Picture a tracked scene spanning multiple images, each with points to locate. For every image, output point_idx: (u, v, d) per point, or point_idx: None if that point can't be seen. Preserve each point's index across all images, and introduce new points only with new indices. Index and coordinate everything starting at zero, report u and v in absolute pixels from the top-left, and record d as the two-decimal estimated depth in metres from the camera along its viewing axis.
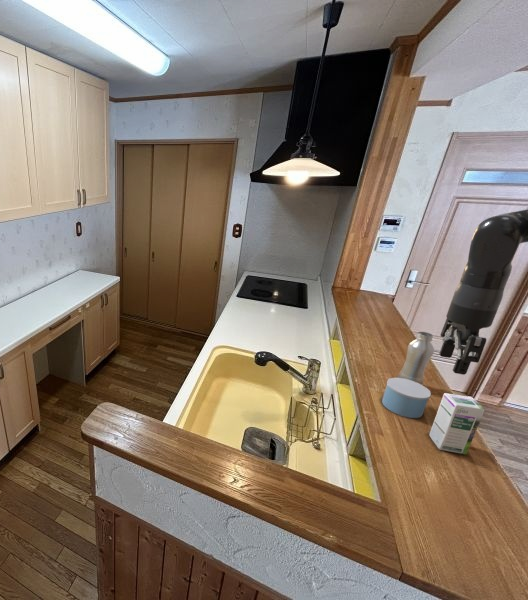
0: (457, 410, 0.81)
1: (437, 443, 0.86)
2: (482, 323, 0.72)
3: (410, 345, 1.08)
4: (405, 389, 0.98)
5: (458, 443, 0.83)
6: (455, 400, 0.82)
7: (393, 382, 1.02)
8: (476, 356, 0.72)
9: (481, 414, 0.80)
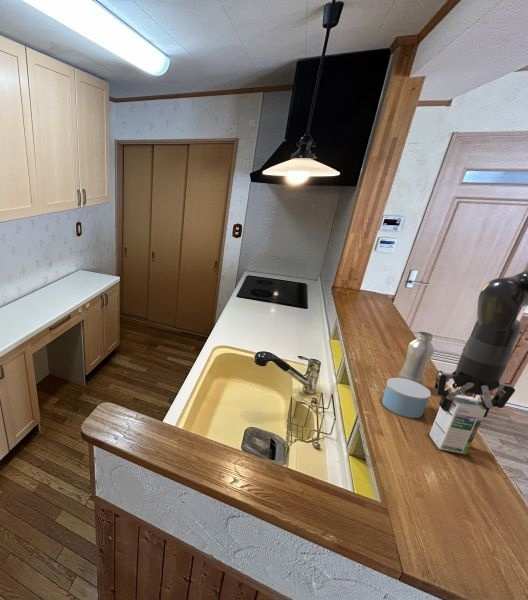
0: (459, 410, 0.81)
1: (437, 443, 0.86)
2: (461, 366, 0.80)
3: (410, 345, 1.08)
4: (405, 389, 0.98)
5: (458, 443, 0.83)
6: (456, 400, 0.82)
7: (393, 382, 1.02)
8: None
9: (482, 414, 0.80)
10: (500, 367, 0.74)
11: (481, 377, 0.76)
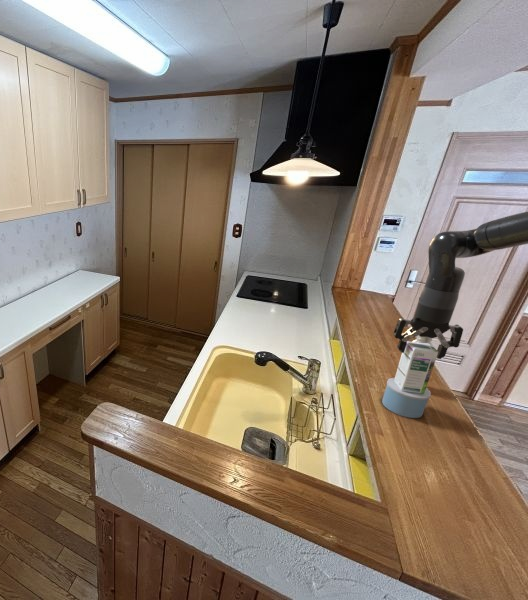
0: (415, 354, 0.93)
1: (399, 385, 0.98)
2: (417, 313, 0.92)
3: None
4: None
5: (416, 383, 0.95)
6: (414, 345, 0.94)
7: (393, 382, 1.02)
8: None
9: (435, 356, 0.92)
10: (448, 311, 0.86)
11: (433, 320, 0.88)
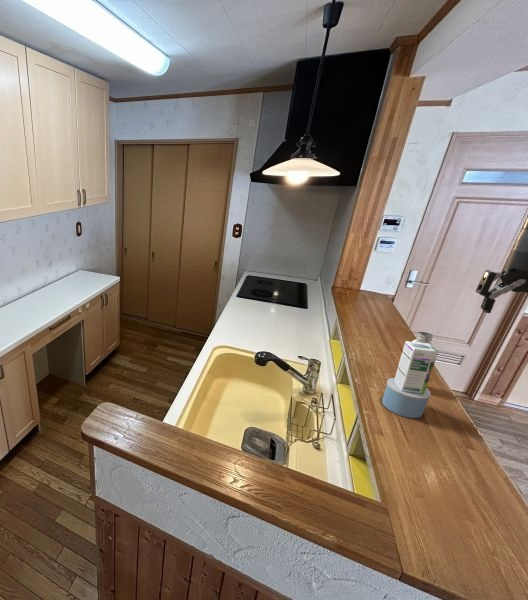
0: (415, 354, 0.93)
1: (399, 385, 0.98)
2: (511, 263, 0.76)
3: None
4: None
5: (416, 383, 0.95)
6: (414, 345, 0.94)
7: (393, 382, 1.02)
8: None
9: (435, 356, 0.92)
10: None
11: None
